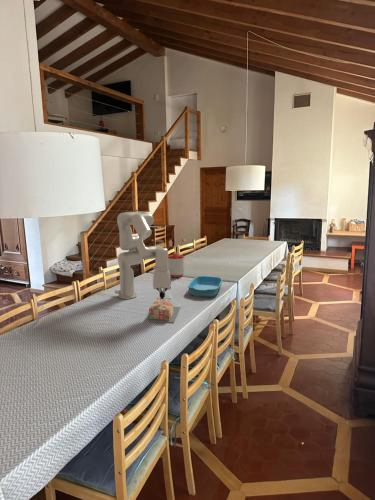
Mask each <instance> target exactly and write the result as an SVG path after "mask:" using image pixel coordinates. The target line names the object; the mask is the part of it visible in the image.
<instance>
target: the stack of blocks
mask: <svg viewBox="0 0 375 500" xmlns="http://www.w3.org/2000/svg"><path fill="white" fill-rule="evenodd" d="M173 307H174V303H173V302H172V298H171V297H170V298H169V297H166V298H165V297H164V299H160V297H156V299H155V300H154V301H153V303H152V305H151V306H150V307H149V309H148V319H149V320H151V319H159V320H170V318H171V317H172V314H173Z"/></svg>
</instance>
